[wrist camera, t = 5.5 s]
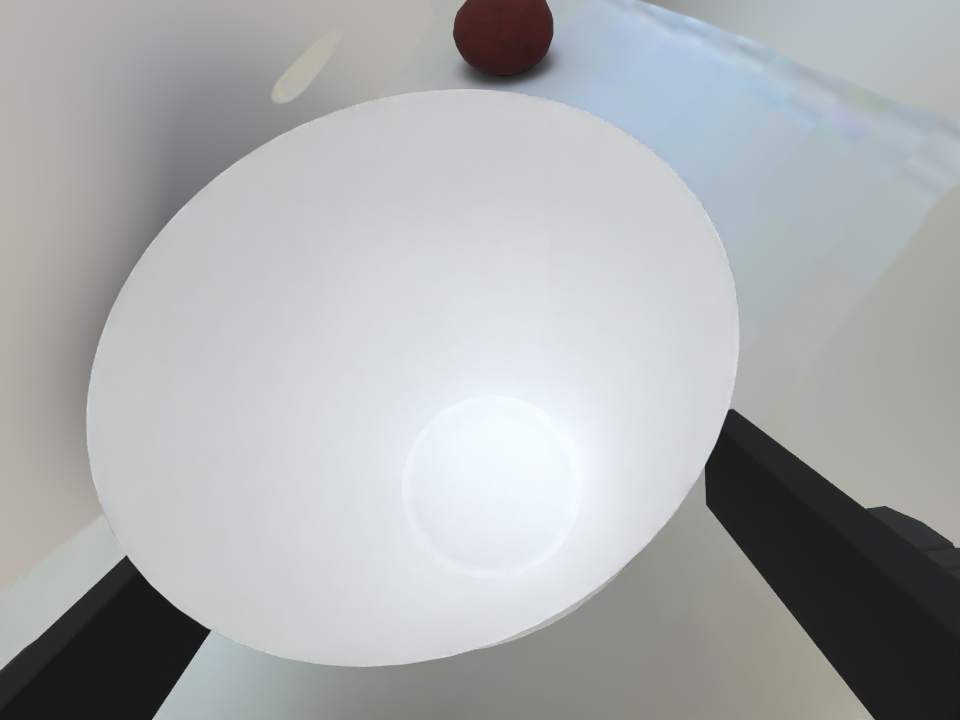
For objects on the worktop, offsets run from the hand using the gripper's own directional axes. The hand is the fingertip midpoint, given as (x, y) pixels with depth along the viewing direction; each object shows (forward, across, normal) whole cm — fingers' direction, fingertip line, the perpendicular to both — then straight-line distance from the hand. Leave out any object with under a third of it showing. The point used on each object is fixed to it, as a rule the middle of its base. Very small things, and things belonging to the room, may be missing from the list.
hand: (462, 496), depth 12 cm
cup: (+10, 0, -6) cm, 12 cm away
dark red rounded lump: (+36, +6, +20) cm, 42 cm away
